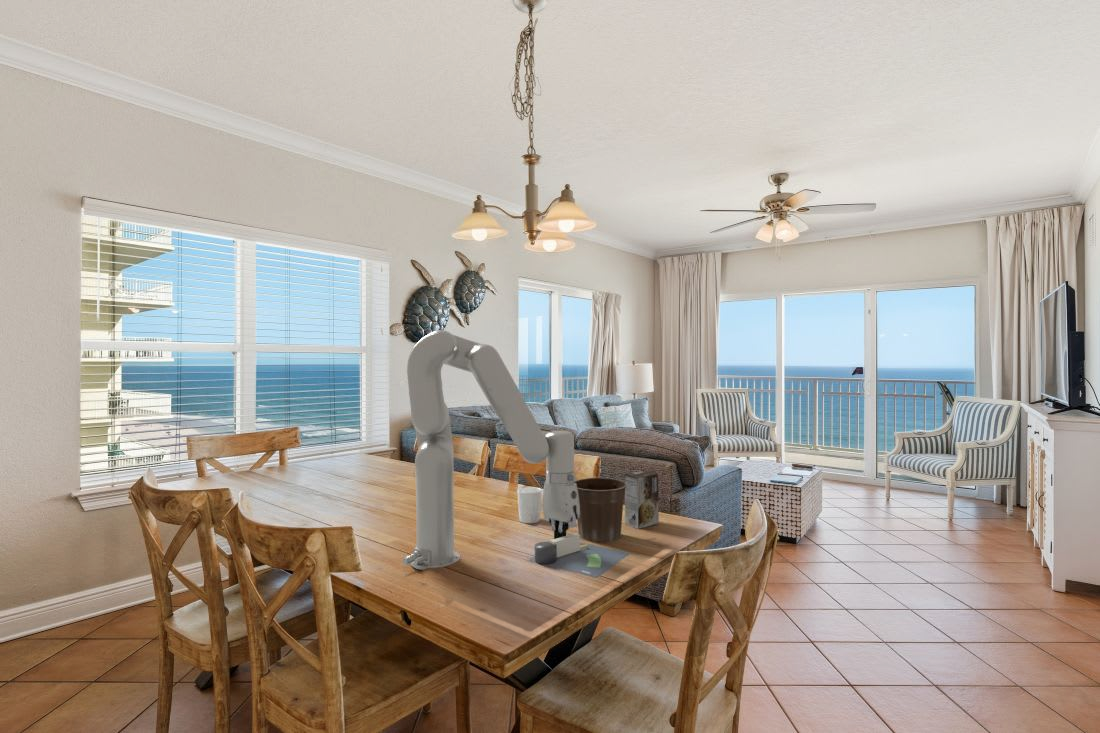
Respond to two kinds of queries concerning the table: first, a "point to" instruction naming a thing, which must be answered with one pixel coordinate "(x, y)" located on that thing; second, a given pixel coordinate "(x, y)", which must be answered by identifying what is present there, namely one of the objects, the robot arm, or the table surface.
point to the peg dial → (557, 548)
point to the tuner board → (588, 560)
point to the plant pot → (600, 508)
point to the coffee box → (641, 499)
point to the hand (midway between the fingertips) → (560, 545)
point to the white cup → (529, 504)
